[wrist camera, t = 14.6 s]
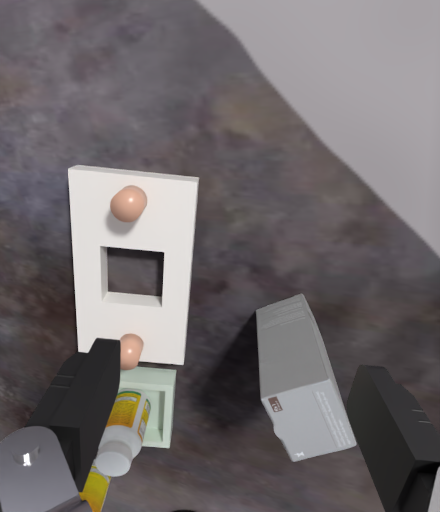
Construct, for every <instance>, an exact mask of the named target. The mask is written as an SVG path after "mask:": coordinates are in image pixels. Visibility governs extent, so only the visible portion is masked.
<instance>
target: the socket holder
mask: <svg viewBox="0 0 440 512" xmlns="http://www.w3.org/2000/svg"><path fill="white" fill-rule="evenodd" d="M68 177H69V194H70V212H71V229H72V247H73V264H74V282H75V299H76V317H77V334H78V352H85V353H88V352H89V350H90V348H91V346H92V345H93V343H94V341H95V339H96V338H106V339H116V340H120V342H121V364H120V369H122V370H131V369H134V368H135V367H136V366H137V365H138V362H139V361H143V362H155V363H166V364H178V365H183V364H184V357H185V349H186V336H187V323H188V311H189V298H190V285H191V273H192V260H193V247H194V235H195V222H196V209H197V197H198V184H199V177H189V176H180V175H170V174H160V173H150V172H141V171H131V170H121V169H112V168H102V167H92V166H83V165H76V166H74V167H71V168H69V169H68ZM107 247H116V248H126V249H137V250H147V251H157V252H164V273H163V295H162V297H159V296H148V295H137V294H126V293H116V292H108V275H107Z"/></svg>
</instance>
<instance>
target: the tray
mask: <svg viewBox="0 0 440 512" xmlns="http://www.w3.org/2000/svg"><path fill="white" fill-rule="evenodd" d="M175 382H176V370H170V369H158V368H147V367H135V368H134V369H131V370H122V369H120V384H119V390H118V392H119V391H120V390H123V389H127V388H132V389H138V390H141V391H142V392H144V393H145V394H146V395H147V396H148V397H149V399H150V401H151V410H150V414H149V418H148V422H147V426H146V430H145V435H144V439H143V443H142V446H149V447H162V448H169V447H170V441H171V435H172V425H173V411H174V397H175Z"/></svg>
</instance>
